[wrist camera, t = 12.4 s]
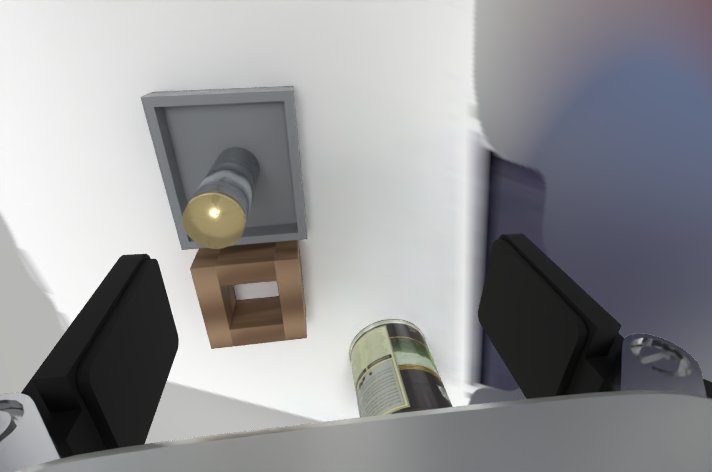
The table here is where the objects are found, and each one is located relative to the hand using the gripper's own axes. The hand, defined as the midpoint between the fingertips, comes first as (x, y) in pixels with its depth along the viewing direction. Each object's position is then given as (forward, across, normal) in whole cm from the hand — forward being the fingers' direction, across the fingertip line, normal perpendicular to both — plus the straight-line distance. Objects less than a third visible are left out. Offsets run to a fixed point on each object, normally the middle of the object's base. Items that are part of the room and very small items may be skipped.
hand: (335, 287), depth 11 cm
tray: (+28, +7, +6) cm, 30 cm away
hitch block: (+28, +6, +19) cm, 34 cm away
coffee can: (+28, -9, +31) cm, 43 cm away
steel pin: (+28, +7, +6) cm, 29 cm away
